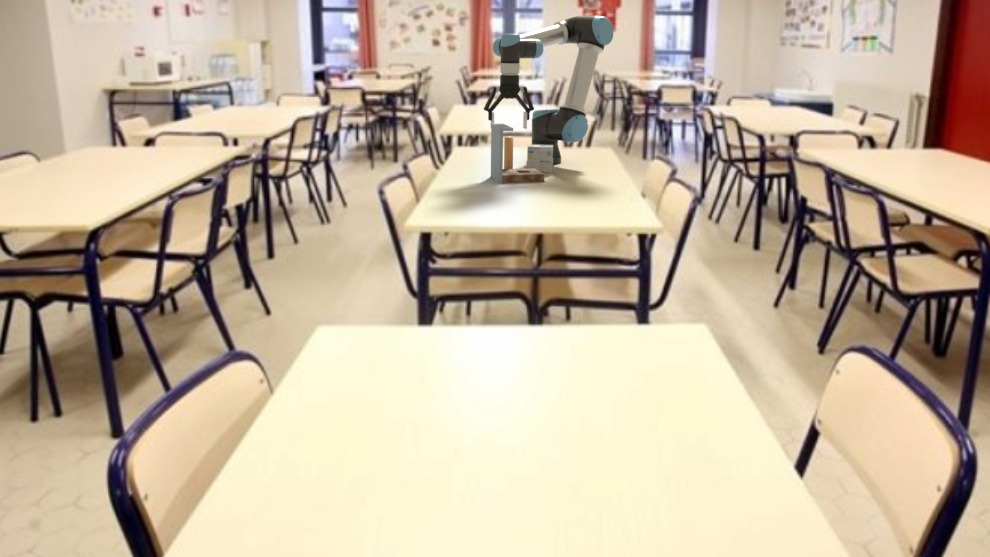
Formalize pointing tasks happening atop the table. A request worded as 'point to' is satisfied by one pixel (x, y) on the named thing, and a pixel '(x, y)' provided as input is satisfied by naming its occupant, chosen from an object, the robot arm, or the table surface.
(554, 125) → the robot arm
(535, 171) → the socket board
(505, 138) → the peg
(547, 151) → the light bulb box
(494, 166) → the grey l-shaped bracket
